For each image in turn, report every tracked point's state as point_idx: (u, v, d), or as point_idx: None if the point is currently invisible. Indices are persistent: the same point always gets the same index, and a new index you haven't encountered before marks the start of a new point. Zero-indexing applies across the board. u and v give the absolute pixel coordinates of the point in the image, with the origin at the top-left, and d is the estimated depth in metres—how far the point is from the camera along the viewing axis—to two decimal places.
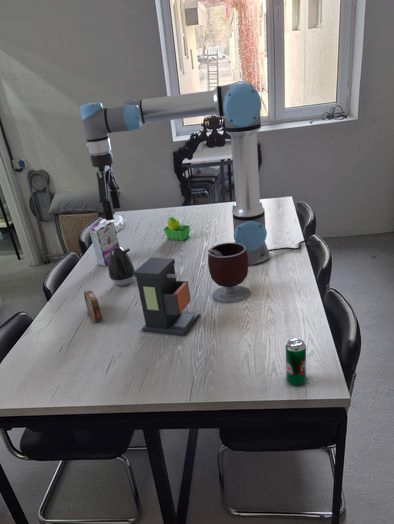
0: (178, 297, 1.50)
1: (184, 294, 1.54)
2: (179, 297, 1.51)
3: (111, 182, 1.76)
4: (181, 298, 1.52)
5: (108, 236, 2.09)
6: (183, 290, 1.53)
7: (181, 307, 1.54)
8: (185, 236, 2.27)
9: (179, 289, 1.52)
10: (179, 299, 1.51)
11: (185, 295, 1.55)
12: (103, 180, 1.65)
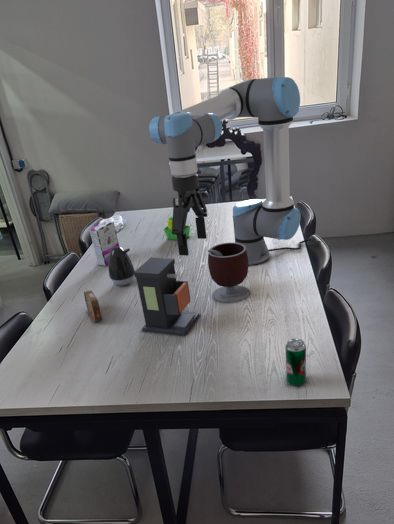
0: (178, 297, 1.50)
1: (184, 294, 1.54)
2: (179, 297, 1.51)
3: (196, 208, 1.45)
4: (181, 298, 1.52)
5: (108, 236, 2.09)
6: (183, 290, 1.53)
7: (181, 307, 1.54)
8: None
9: (179, 289, 1.52)
10: (179, 299, 1.51)
11: (185, 295, 1.55)
12: (179, 208, 1.34)
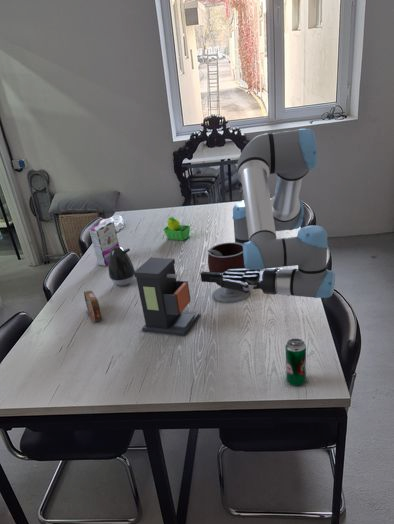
0: (178, 297, 1.50)
1: (184, 294, 1.54)
2: (179, 297, 1.51)
3: None
4: (181, 298, 1.52)
5: (108, 236, 2.09)
6: (183, 290, 1.53)
7: (181, 307, 1.54)
8: (185, 236, 2.27)
9: (179, 289, 1.52)
10: (179, 299, 1.51)
11: (185, 295, 1.55)
12: None
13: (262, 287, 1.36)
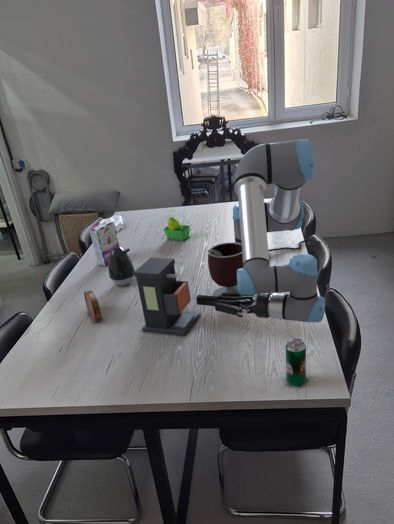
0: (178, 297, 1.50)
1: (184, 294, 1.54)
2: (179, 297, 1.51)
3: None
4: (181, 298, 1.52)
5: (108, 236, 2.09)
6: (183, 290, 1.53)
7: (181, 307, 1.54)
8: (185, 236, 2.27)
9: (179, 289, 1.52)
10: (179, 299, 1.51)
11: (185, 295, 1.55)
12: None
13: (255, 311, 1.42)
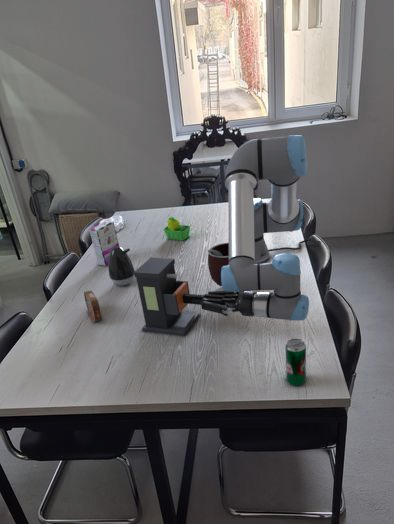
0: (178, 297, 1.50)
1: None
2: (179, 297, 1.51)
3: None
4: (181, 298, 1.53)
5: (108, 236, 2.09)
6: (183, 290, 1.53)
7: (181, 307, 1.54)
8: (185, 236, 2.27)
9: (179, 289, 1.52)
10: (179, 299, 1.51)
11: None
12: None
13: (240, 310, 1.44)
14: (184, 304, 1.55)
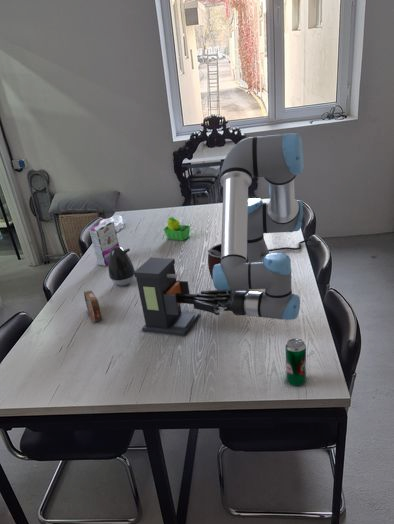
0: None
1: (176, 293, 1.55)
2: None
3: None
4: None
5: (108, 236, 2.09)
6: (175, 289, 1.54)
7: None
8: (185, 236, 2.27)
9: (171, 288, 1.53)
10: None
11: None
12: None
13: (232, 309, 1.45)
14: (177, 303, 1.56)
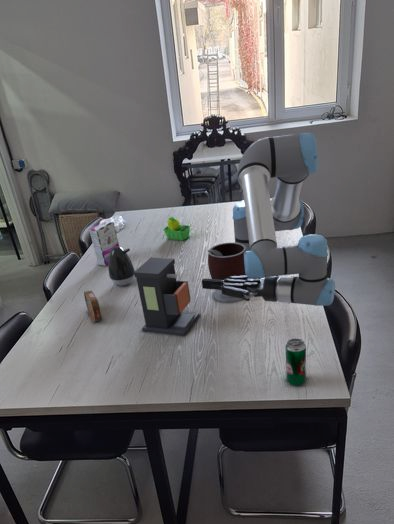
0: (178, 297, 1.50)
1: (184, 294, 1.54)
2: (179, 297, 1.51)
3: None
4: (181, 298, 1.52)
5: (108, 236, 2.09)
6: (183, 290, 1.53)
7: (181, 307, 1.53)
8: (185, 236, 2.27)
9: (179, 289, 1.52)
10: (179, 299, 1.51)
11: (185, 295, 1.55)
12: None
13: (263, 295, 1.38)
14: (184, 304, 1.55)
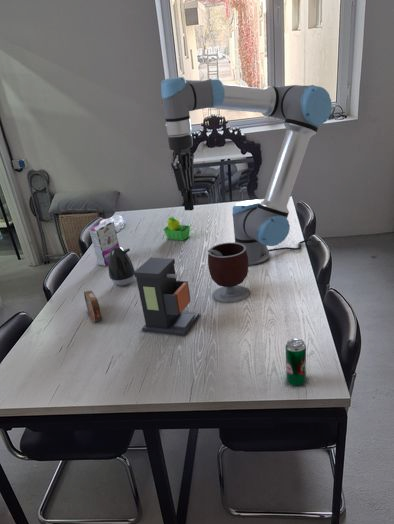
0: (178, 297, 1.50)
1: (184, 294, 1.54)
2: (179, 297, 1.51)
3: (187, 173, 1.57)
4: (181, 298, 1.52)
5: (108, 236, 2.09)
6: (183, 290, 1.53)
7: (181, 307, 1.53)
8: (185, 236, 2.27)
9: (179, 289, 1.52)
10: (179, 299, 1.51)
11: (185, 295, 1.55)
12: (179, 171, 1.52)
13: None
14: (184, 304, 1.55)
